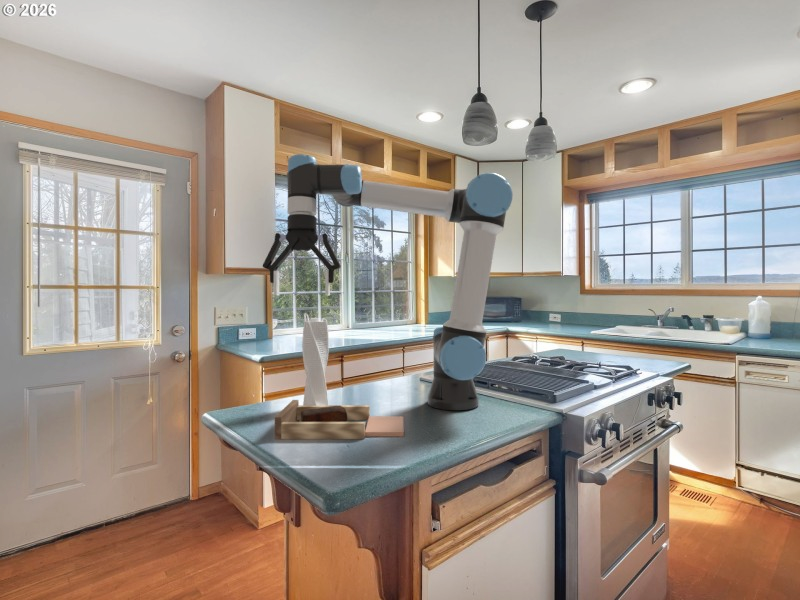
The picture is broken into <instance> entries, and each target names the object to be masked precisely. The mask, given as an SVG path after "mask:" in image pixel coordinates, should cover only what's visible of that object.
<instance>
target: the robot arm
mask: <svg viewBox="0 0 800 600" xmlns="http://www.w3.org/2000/svg"><path fill="white" fill-rule="evenodd" d="M287 161H288V162H287V172H286V175H287V176H286V177H287V179H286V181H287V212H286V213H287V214H288V216H287V231H286V232H287V233H286V234H281V233H279V232H276V233H275V235H274V241H273V243H272V245H271V247H270V250H269V252H268V254H267V256H266V257H265V260H264V261H263V263H262V268H264V269H266V270H268V271H269V282H270V283H272V284H273V296H274V297H276V296H280V271H279V270H278V269H279V268H280V267H281V265H282V264H283V263H284V262H285V260H286V259H288V257H289V256H290V254H291V253H293V252H294V251H296V252H302V251H304V252H309V251H312V252H313V253H314V254H315V255H316V257H317V258H318V259H319V260H320V262H321V263H322V264H323V265H324V266H325V267H326V268H327V270H325V271H324V272H325V274H324V275H325V277H324V278H325V283H324V285H325V287H324V288H325V289H324V290H325V293H324V295H325V296H331V284H334V283H335V271H336V270H339V269H341V263H340V262H339V259H338V257H337V255H336V254H335V251H334V250H333V248H332V245H331V243H330V238H329V235H328V234H327V233H325V232H324V233H323V234H318V232H317V217H316V216H317V195H318V194H320V195H332V198H333V199H334V201H336V203H337V204H338V205H340V206H342V207H345V208H350V207H353V206H355V207H366V208H370V209H381V210H388V211H395V212H402V213H408V214H416V215H425V216H431V217H436V218H437V217H438V218H439V217H440V218H444V219H445V220H446V221H447V222H448V223H457V224H459V225H460V226H459V227H461V228H462V230H463V236H462V242H461V249H460V256H459V260H458V261H459V262H458V267H457V272H456V273H457V274H456V280H455V285H454V291H453V296H452V297H453V298H452V304H451V310H450V315H449V319H447V321H445V322H444V323H443V324H442V326H439V327H436V328H435V329H434V330H433V335H432V340H433V378H432V382H431V385H430V388H429V391H428V394H427V405H428V406H429V407H432V408H434V409H437V410H438V409H439V410H445V411H468V410H473V409H476V408H477V407H478V406H479V395H478V394H479V393H478V391H477V388H476V386H475V385H476V384H475V381H474V378H476V377H477V376H478V375H480V374H481V372H482V371H483V370H484V368H485V366H486V363H487V353H486V349H485V344H486V337H487V330H486V329H485V327H484V326H483V319H484V313H485V306H486V302H487V301H486V300H487V294H488V290H489V289H488V288H489V282H490V276H491V270H492V263H493V259H494V258H493V257H494V251H495V245H496V241H497V240H496V239H497V236H498V235H499V234H500V233H502V232H503V230H504V226H505V220H506V215H507V211H508V210H509V209H510V207H511V204H512V201H513V196H514V195H513V194H514V193H513V188H512V186H511V184H510V183H509V182H508V180H507V179H506V178H505V177H504V176H502V175H501V174H498V173H495V172H484V173H480V174H478V175H477V176H475V177H474V178H472V179H471V180H470V181H469V182H468V184H467V187H466V188H462V189H460V188H459V189H458V188H451V189H450V190H449V191H447V190H446V191H445V190H438V189H430V188H425V187H424V188H423V187H417V186H416V187H415V186H410V185H409V186H408V185H402V184H400V185H399V184H394V183H385V182H379V181H378V182H377V181H371V180H370V181H369V180H363V177H362V168H361V167H360V166H359V165H357V164H348V163H345V164H318V163H317V159H316V157H314V156H312V155H307V154H294V155H291V156H290V157H289V158H288V160H287ZM285 240H286V241H287V243H288V244H287V245H286V247H285V248H284V249H283V250H282V252H281V253H280V254H279V255H278V256H277V257H276V255H277V254H278V252H279V250H280V247H281V245H282V243H284V242H285ZM318 241H320V242H321V243H323V246H324V248H325V250H326V251H327V253H328V255H329V257H330V260H331V261H332V263H333V265H332V264H331V263H330V261H329V260H328V259H327V258H326V257H325V256H324V254H323V253H322V252H321V250H319V248H318V247H317V245H316V244H317V242H318ZM275 257H276V259H275ZM274 259H275V260H274Z"/></svg>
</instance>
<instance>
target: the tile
mask: <svg viewBox="0 0 800 600" xmlns="http://www.w3.org/2000/svg"><path fill="white" fill-rule="evenodd" d="M404 431H405V430H404V416H402V415H401V416H395V415H393V416H386V415H385V416H370V417H369V419H368V420H367V423H366V425H365V437H404V436H405V434H404Z"/></svg>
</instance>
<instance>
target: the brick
mask: <svg viewBox="0 0 800 600" xmlns="http://www.w3.org/2000/svg"><path fill="white" fill-rule="evenodd" d="M339 405H340V404H339ZM339 405H338V406H331V407H323V408H317V409H308V410H303V411H301V420H300V422H348V420H347V412H346V409H345V408H344V407H342V406H339Z"/></svg>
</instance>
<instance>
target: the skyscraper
mask: <svg viewBox="0 0 800 600" xmlns="http://www.w3.org/2000/svg"><path fill="white" fill-rule="evenodd" d="M303 320H304V321H303V327H302V329H303V330H302V341H301V343H302V344H301V345H302V347H301V348H302V349H301V350H302V360H303V366H304V372H305V376H306V378H305V386H304V394H303V402H302V403H303V404H302V405H329V397H328V396H329V395H328V388H327V381H326V375H325V374H326V369H327V365H328V359H329V352H330V350H329V347H330V343H329V342H330V341H329V340H330V338H329V327H328V320H327V318H325V317H322V318H321V317H310V319H309V314H308V313H307V312H303Z"/></svg>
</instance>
